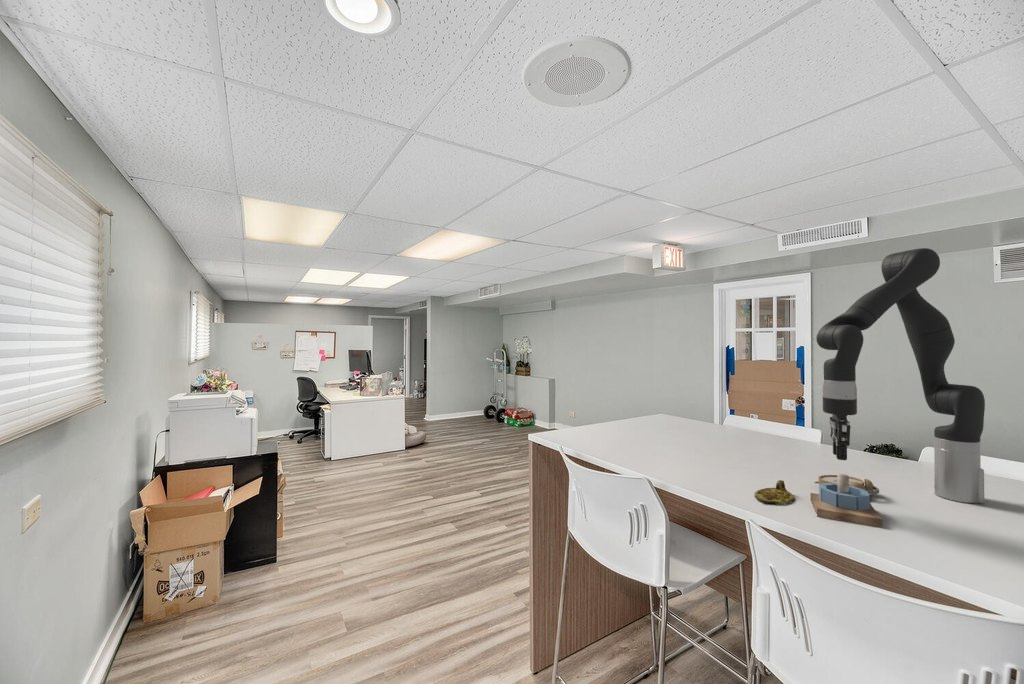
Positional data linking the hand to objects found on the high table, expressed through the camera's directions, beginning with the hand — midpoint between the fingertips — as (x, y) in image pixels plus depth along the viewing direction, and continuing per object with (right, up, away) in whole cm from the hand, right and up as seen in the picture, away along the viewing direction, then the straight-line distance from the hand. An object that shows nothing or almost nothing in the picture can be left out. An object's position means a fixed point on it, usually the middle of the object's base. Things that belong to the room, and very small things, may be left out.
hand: (839, 456), depth 115 cm
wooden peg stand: (-2, -14, -4) cm, 15 cm away
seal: (-14, -15, +7) cm, 21 cm away
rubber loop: (-1, -12, -2) cm, 12 cm away
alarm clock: (+11, -14, +11) cm, 21 cm away
